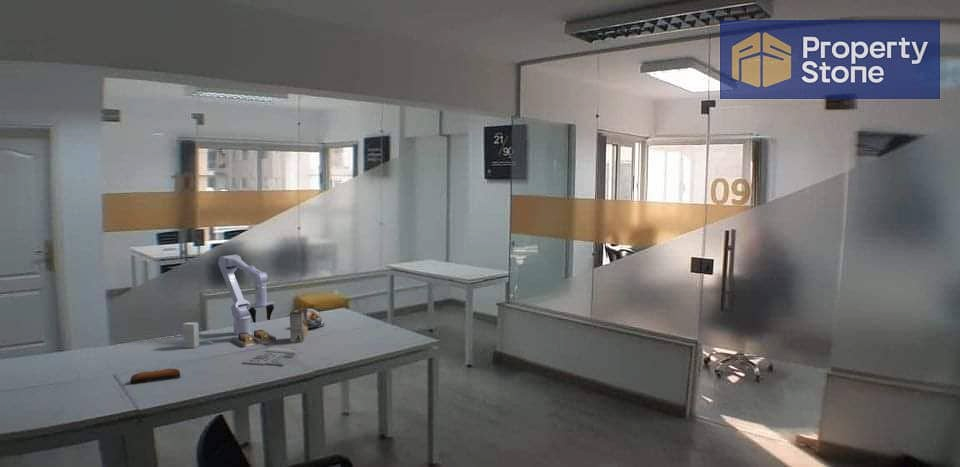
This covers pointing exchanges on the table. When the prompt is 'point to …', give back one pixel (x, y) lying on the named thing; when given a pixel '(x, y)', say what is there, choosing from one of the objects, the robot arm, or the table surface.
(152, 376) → the sunglasses case
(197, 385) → the table surface
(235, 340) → the battery board
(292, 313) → the coffee box
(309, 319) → the lucky cat figurine
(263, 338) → the cell
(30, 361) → the table surface
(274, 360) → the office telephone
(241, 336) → the copper cell
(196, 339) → the skincare box
